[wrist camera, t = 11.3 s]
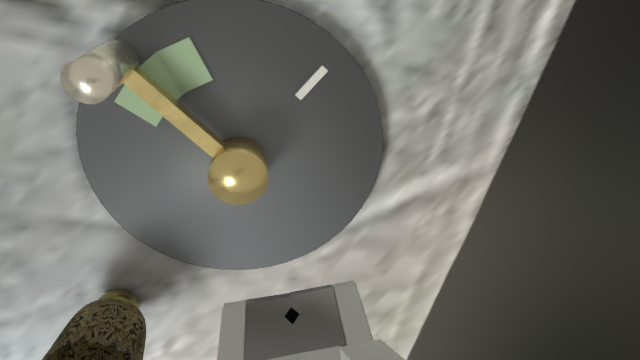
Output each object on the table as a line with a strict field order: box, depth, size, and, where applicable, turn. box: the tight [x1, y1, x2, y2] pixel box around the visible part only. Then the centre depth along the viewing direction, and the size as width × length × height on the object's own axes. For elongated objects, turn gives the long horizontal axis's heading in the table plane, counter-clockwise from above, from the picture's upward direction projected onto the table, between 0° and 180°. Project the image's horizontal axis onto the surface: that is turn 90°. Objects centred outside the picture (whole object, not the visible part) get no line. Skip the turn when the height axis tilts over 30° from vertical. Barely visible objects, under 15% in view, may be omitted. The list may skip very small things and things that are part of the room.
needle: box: [61, 40, 268, 205], centre depth 26 cm, size 14×4×6 cm, turn 40°
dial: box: [76, 0, 382, 270], centre depth 31 cm, size 24×24×1 cm
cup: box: [42, 290, 146, 360], centre depth 34 cm, size 8×7×8 cm
